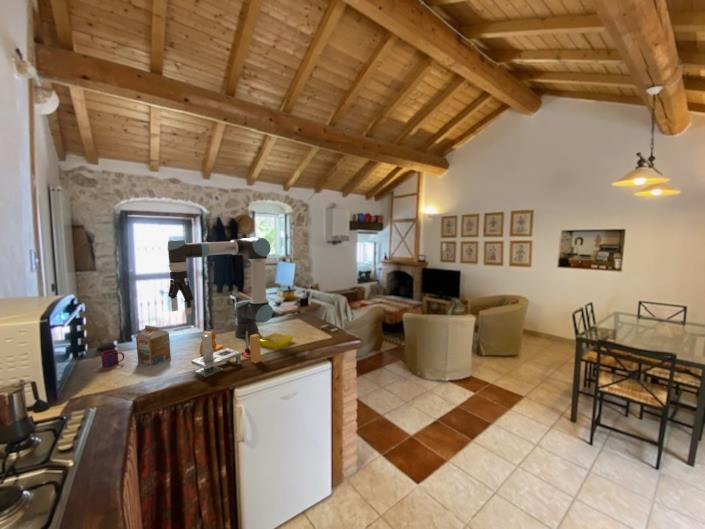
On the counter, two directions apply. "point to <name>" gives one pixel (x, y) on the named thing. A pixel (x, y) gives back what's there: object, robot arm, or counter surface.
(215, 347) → the bracket
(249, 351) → the tow hook
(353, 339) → the counter surface
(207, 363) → the windowed plate knob
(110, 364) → the mug
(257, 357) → the wedge pin
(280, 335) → the element tile
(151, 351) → the milk carton
